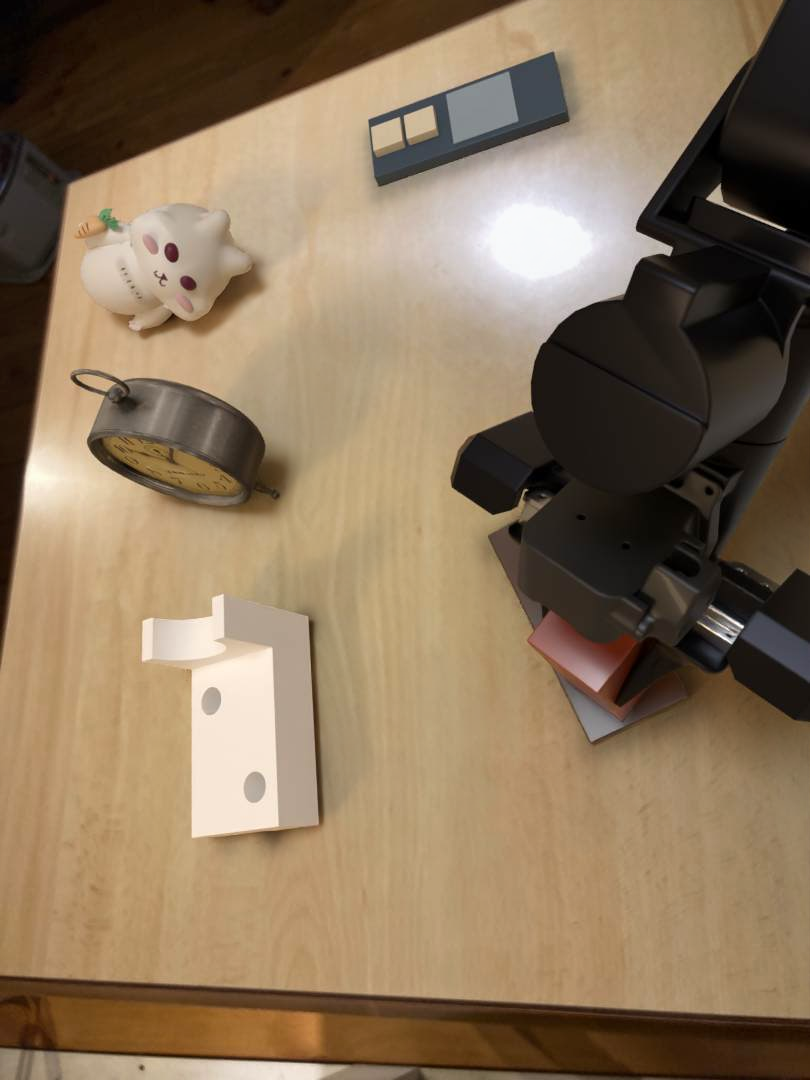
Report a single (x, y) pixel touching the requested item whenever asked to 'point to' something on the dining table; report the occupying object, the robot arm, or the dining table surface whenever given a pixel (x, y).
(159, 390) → the alarm clock
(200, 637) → the bracket
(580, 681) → the terracotta brick
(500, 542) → the board
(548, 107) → the board
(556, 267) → the dining table surface
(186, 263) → the cat figurine
